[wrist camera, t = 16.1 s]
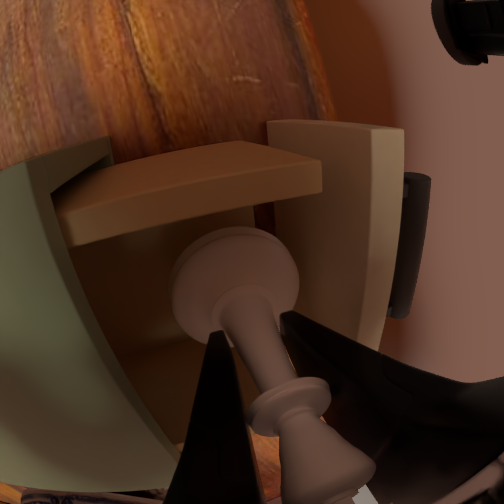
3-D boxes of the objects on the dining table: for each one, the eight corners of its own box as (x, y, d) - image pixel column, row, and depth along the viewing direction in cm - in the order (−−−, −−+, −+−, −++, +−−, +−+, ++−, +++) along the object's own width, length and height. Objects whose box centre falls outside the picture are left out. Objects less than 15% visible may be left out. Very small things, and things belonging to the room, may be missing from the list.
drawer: (362, 117, 14) (479, 134, 7) (356, 296, 19) (427, 365, 12) (9, 183, 10) (-87, 247, 3) (89, 366, 15) (81, 472, 9)
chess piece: (297, 318, 13) (431, 515, 4) (187, 350, 12) (256, 591, 3) (289, 211, 10) (539, 442, 2) (150, 245, 9) (201, 627, 1)
